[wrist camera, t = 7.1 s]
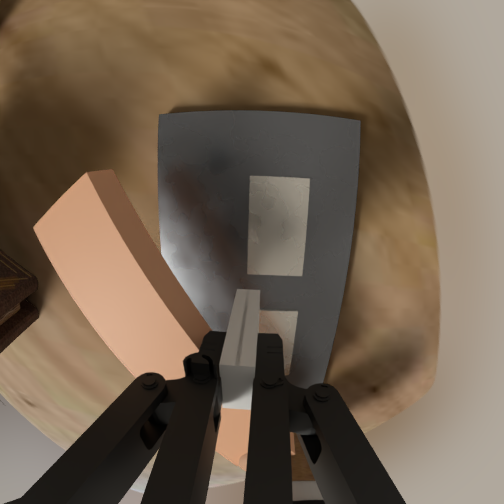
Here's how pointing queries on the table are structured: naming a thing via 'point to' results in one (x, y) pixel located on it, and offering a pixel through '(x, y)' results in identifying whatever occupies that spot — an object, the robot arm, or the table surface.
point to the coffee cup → (303, 479)
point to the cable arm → (130, 290)
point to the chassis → (262, 221)
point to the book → (15, 300)
